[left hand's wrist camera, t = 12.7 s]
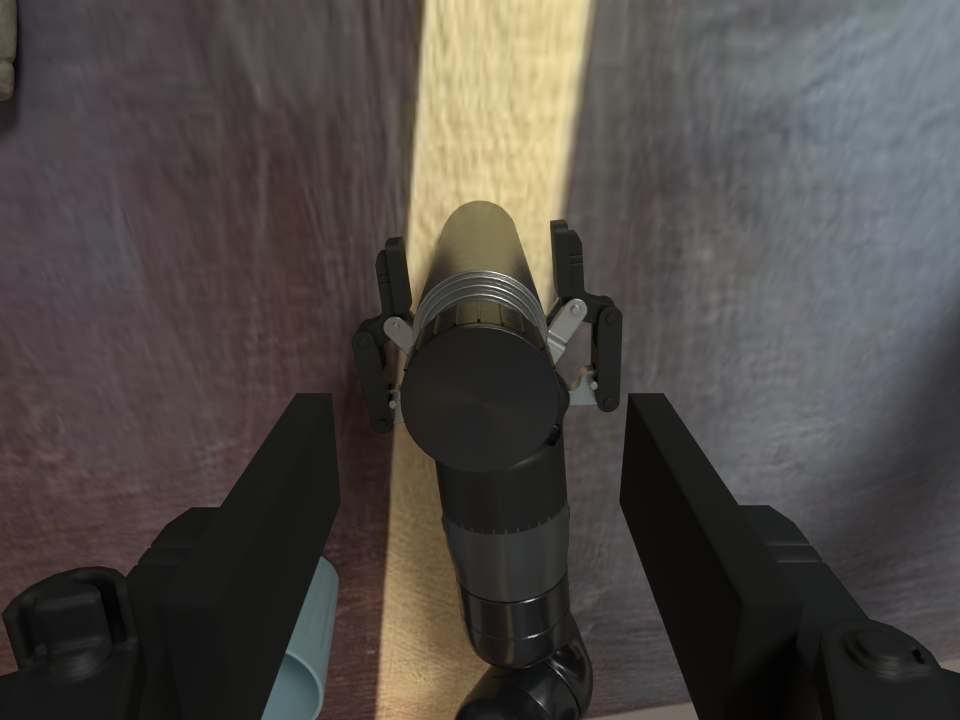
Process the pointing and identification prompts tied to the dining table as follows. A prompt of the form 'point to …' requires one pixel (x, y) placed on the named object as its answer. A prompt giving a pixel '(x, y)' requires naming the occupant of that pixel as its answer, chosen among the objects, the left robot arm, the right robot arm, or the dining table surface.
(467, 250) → the bottle
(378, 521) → the dining table surface
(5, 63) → the decorative stone
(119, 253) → the dining table surface
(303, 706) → the cup
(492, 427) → the cap
